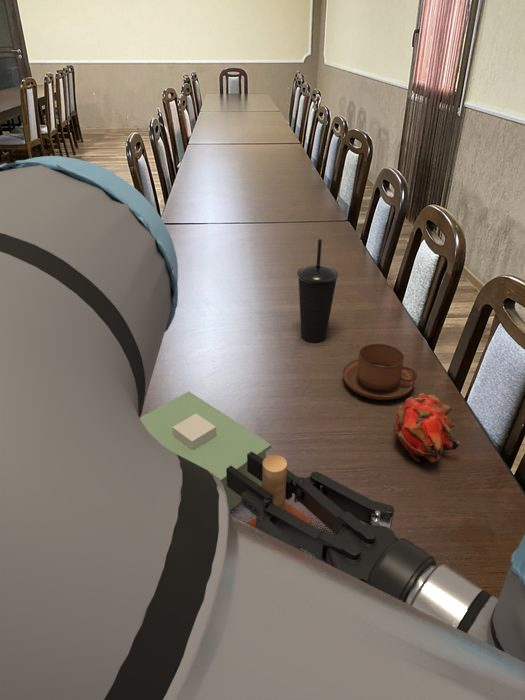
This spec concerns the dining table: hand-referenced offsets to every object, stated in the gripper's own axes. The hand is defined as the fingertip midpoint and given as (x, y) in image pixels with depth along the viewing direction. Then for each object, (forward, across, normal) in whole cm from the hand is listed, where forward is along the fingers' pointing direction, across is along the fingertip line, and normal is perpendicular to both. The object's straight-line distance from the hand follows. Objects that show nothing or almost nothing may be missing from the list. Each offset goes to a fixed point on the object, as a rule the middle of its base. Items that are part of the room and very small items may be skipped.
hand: (239, 468), depth 63 cm
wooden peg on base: (-5, 0, -8) cm, 10 cm away
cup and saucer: (+4, +37, -9) cm, 38 cm away
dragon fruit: (-9, +28, -9) cm, 31 cm away
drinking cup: (+23, +42, -9) cm, 48 cm away
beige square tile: (+10, +1, -2) cm, 10 cm away
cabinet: (+10, +1, -9) cm, 13 cm away
